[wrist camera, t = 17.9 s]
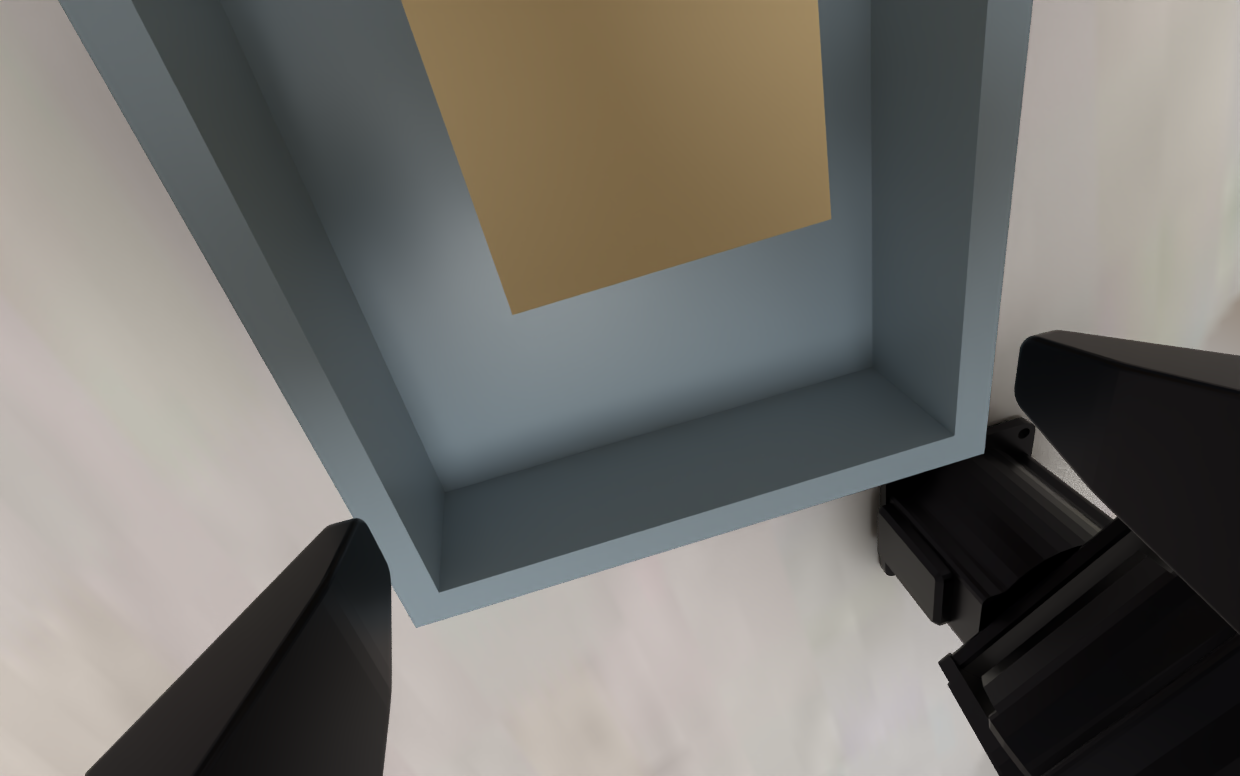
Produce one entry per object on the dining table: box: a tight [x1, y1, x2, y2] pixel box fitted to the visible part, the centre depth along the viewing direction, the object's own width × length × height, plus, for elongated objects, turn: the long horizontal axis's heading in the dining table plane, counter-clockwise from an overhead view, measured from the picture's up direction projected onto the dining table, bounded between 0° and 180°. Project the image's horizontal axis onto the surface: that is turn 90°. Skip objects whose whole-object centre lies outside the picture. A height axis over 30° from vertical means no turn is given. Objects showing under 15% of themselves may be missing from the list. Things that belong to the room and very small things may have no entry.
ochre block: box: [401, 0, 831, 315], centre depth 10 cm, size 4×4×6 cm
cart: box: [58, 0, 1033, 628], centre depth 13 cm, size 14×20×7 cm
